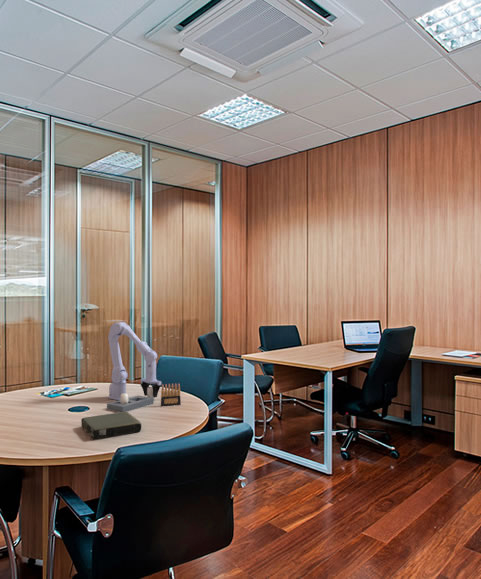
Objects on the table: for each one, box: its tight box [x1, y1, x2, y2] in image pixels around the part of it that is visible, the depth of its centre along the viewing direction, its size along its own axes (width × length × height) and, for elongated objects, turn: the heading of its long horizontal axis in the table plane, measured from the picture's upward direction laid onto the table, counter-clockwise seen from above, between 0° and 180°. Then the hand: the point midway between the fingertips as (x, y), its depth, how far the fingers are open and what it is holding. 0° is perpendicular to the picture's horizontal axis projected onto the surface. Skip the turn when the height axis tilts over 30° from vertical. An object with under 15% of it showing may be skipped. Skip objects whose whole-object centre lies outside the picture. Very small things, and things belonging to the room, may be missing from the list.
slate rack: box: [106, 392, 154, 413], centre depth 235 cm, size 12×22×8 cm, turn 147°
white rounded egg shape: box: [146, 386, 155, 401], centre depth 250 cm, size 4×4×7 cm
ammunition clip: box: [160, 382, 182, 407], centre depth 238 cm, size 11×2×12 cm, turn 109°
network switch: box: [80, 411, 142, 441], centre depth 194 cm, size 23×23×5 cm
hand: (150, 396), depth 250 cm, fingers open, 7 cm apart
